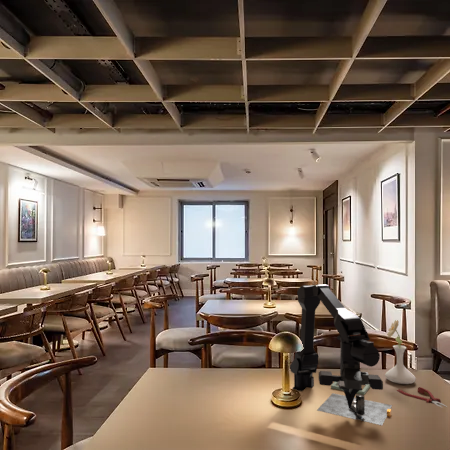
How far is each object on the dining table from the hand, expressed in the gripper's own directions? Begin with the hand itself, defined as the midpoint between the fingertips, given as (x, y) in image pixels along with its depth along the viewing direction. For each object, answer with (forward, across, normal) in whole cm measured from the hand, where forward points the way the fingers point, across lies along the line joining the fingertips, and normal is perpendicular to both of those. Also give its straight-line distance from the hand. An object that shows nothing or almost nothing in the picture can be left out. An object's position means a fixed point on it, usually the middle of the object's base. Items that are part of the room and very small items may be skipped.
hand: (349, 408), depth 123 cm
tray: (+4, +5, +27) cm, 28 cm away
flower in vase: (+3, +25, +39) cm, 47 cm away
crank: (+2, +3, +4) cm, 6 cm away
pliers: (+4, +27, +20) cm, 34 cm away
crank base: (+4, +3, +8) cm, 9 cm away
